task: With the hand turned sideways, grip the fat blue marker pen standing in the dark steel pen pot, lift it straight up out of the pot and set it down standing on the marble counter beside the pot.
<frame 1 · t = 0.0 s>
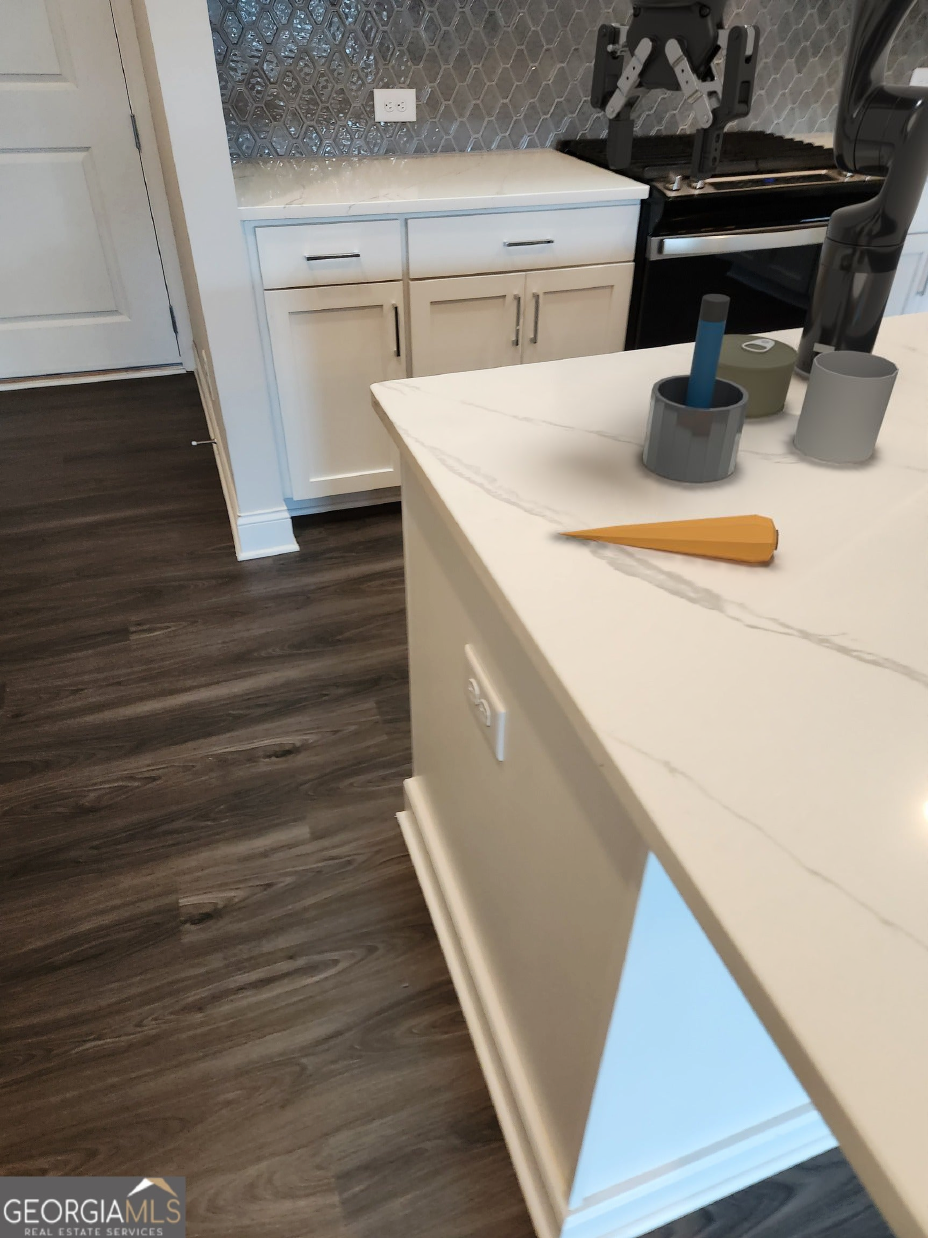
hand: (657, 173, 71), 29 cm above the countertop, tool pointing down, fingers open, 8 cm apart
pen pot: (687, 465, 91), on the countertop
can: (735, 405, 105), on the countertop
marker: (688, 461, 91), resting on pen pot
cup: (830, 452, 94), on the countertop
carrot: (661, 548, 78), on the countertop
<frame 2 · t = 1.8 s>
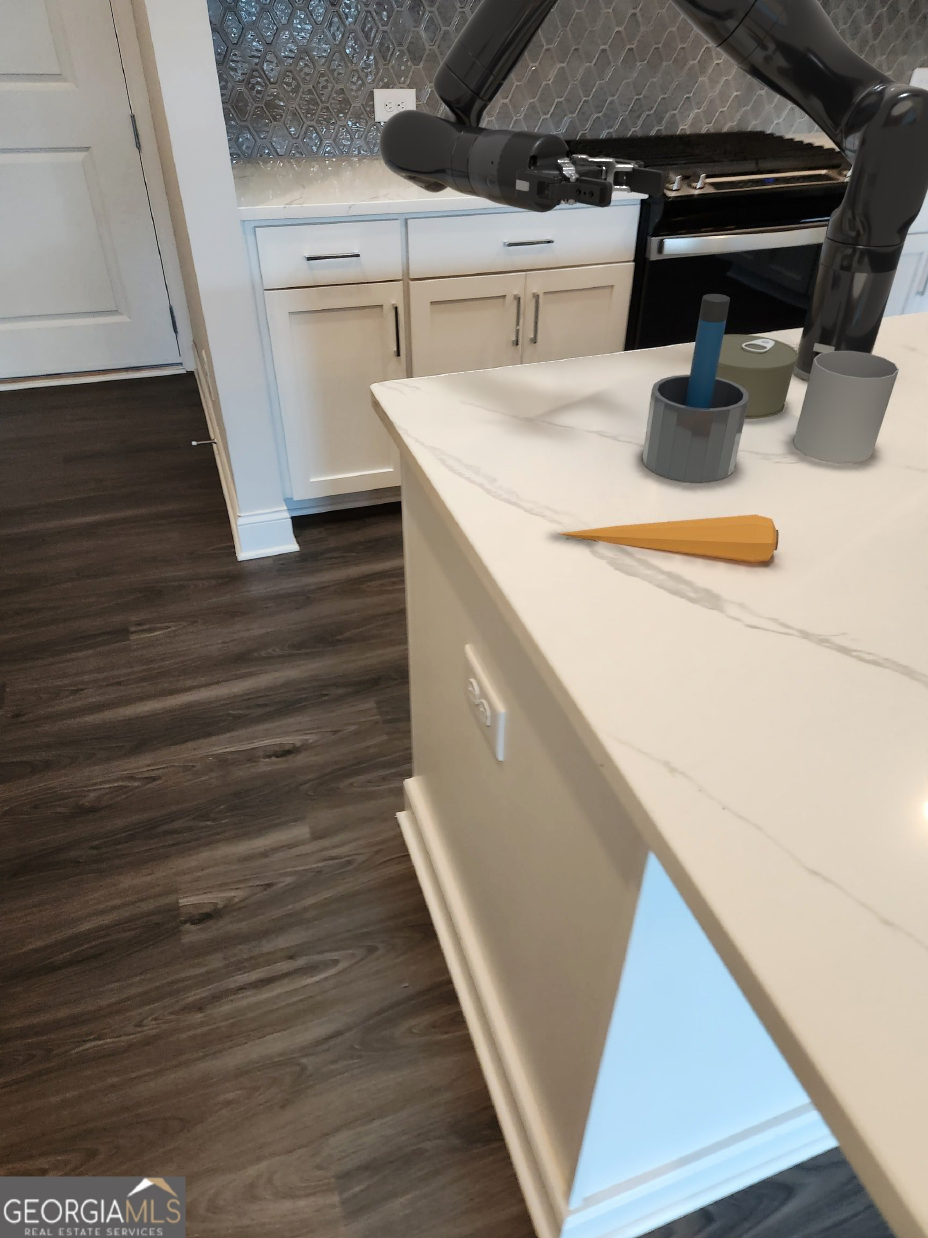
hand: (637, 189, 82), 26 cm above the countertop, tool horizontal, fingers open, 8 cm apart
nothing on the countertop moved.
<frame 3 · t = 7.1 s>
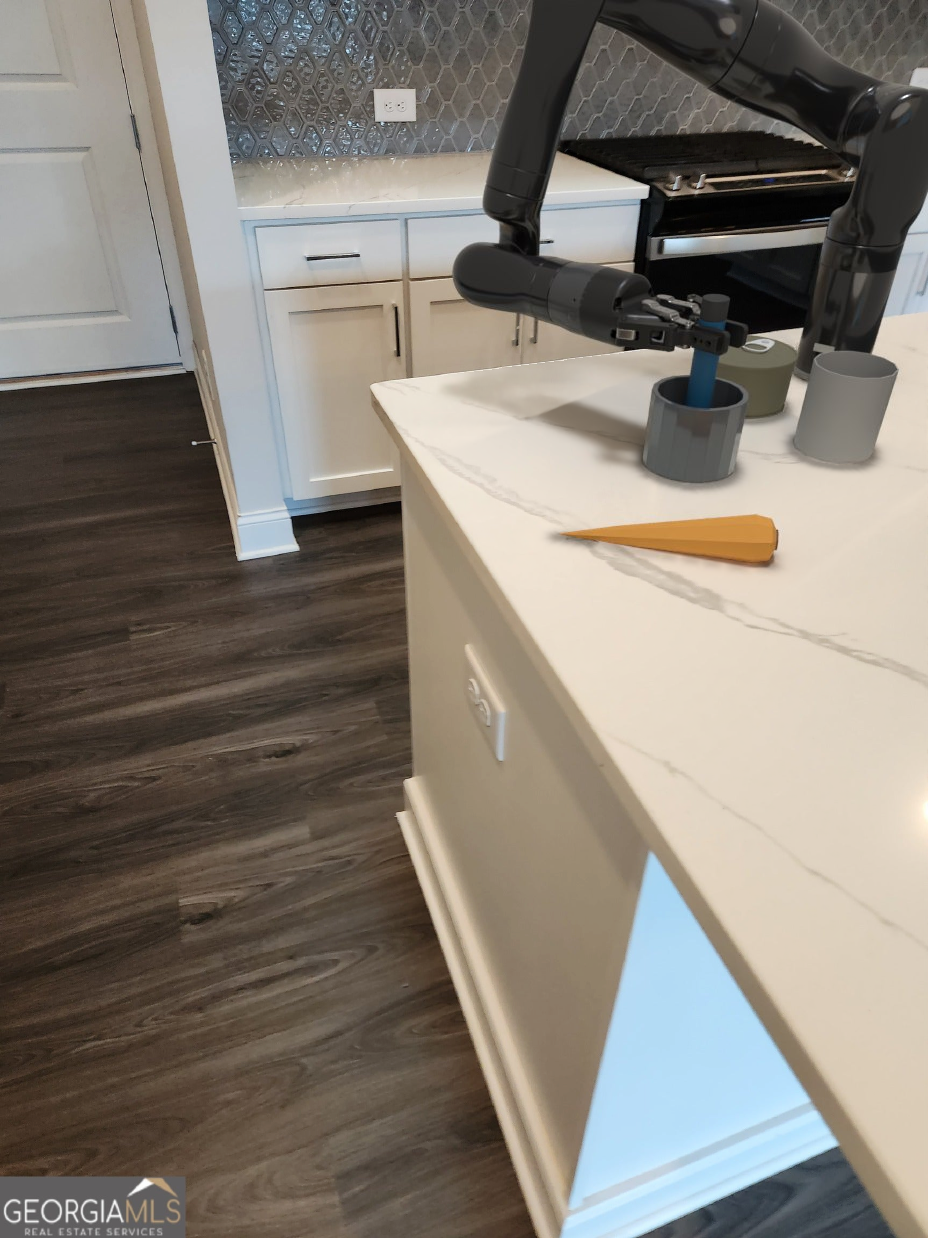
hand: (735, 340, 81), 14 cm above the countertop, tool horizontal, fingers closed on marker, 2 cm apart
marker: (688, 461, 91), point 1 cm above the countertop, touching gripper, pen pot
everything else where it was.
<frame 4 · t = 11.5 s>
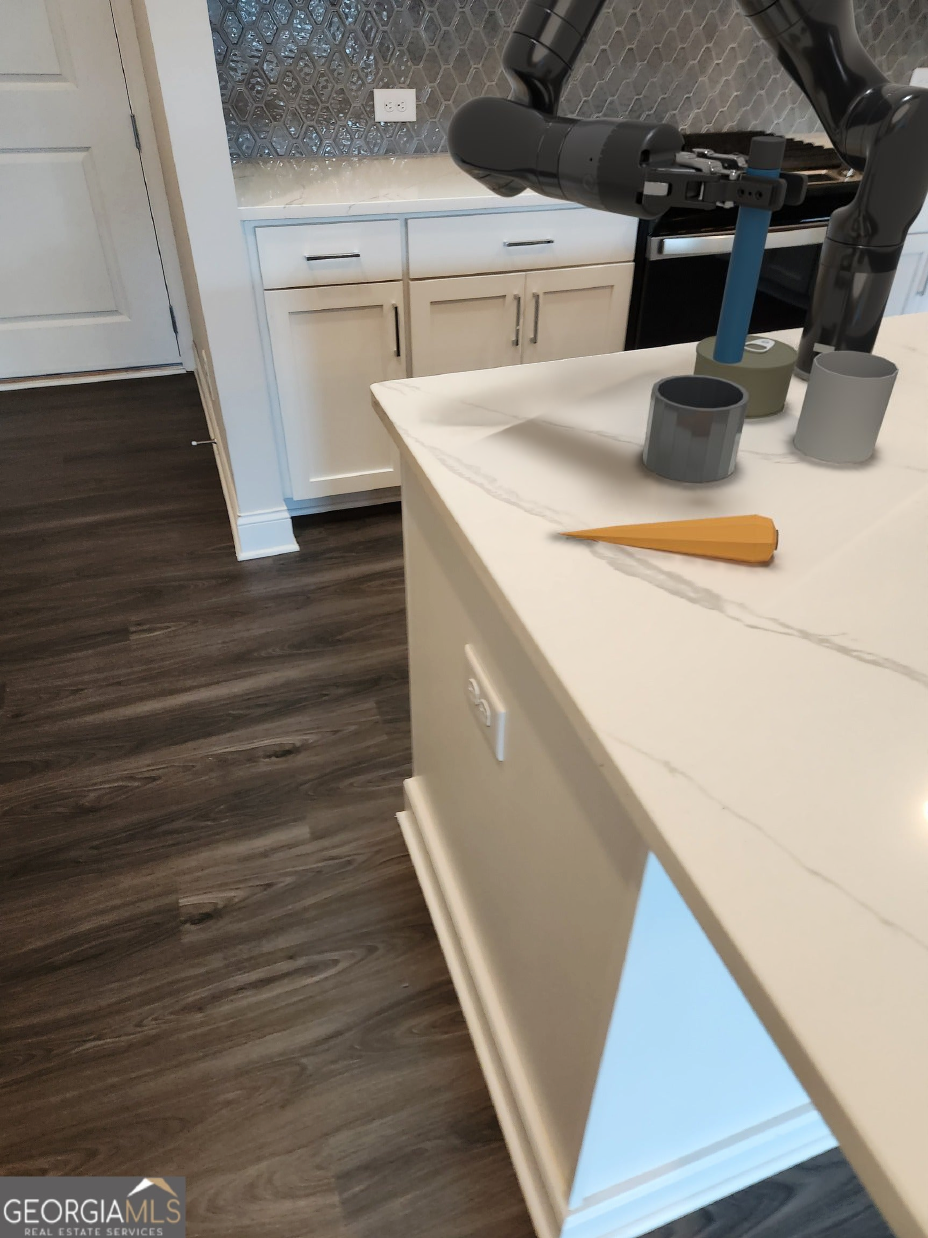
hand: (792, 192, 65), 29 cm above the countertop, tool horizontal, fingers closed on marker, 2 cm apart
marker: (727, 359, 75), point 15 cm above the countertop, touching gripper
everything else where it was.
when the fingers open (14 cm above the countertop, at t = 16.3 s): marker stays where it is, on the countertop.
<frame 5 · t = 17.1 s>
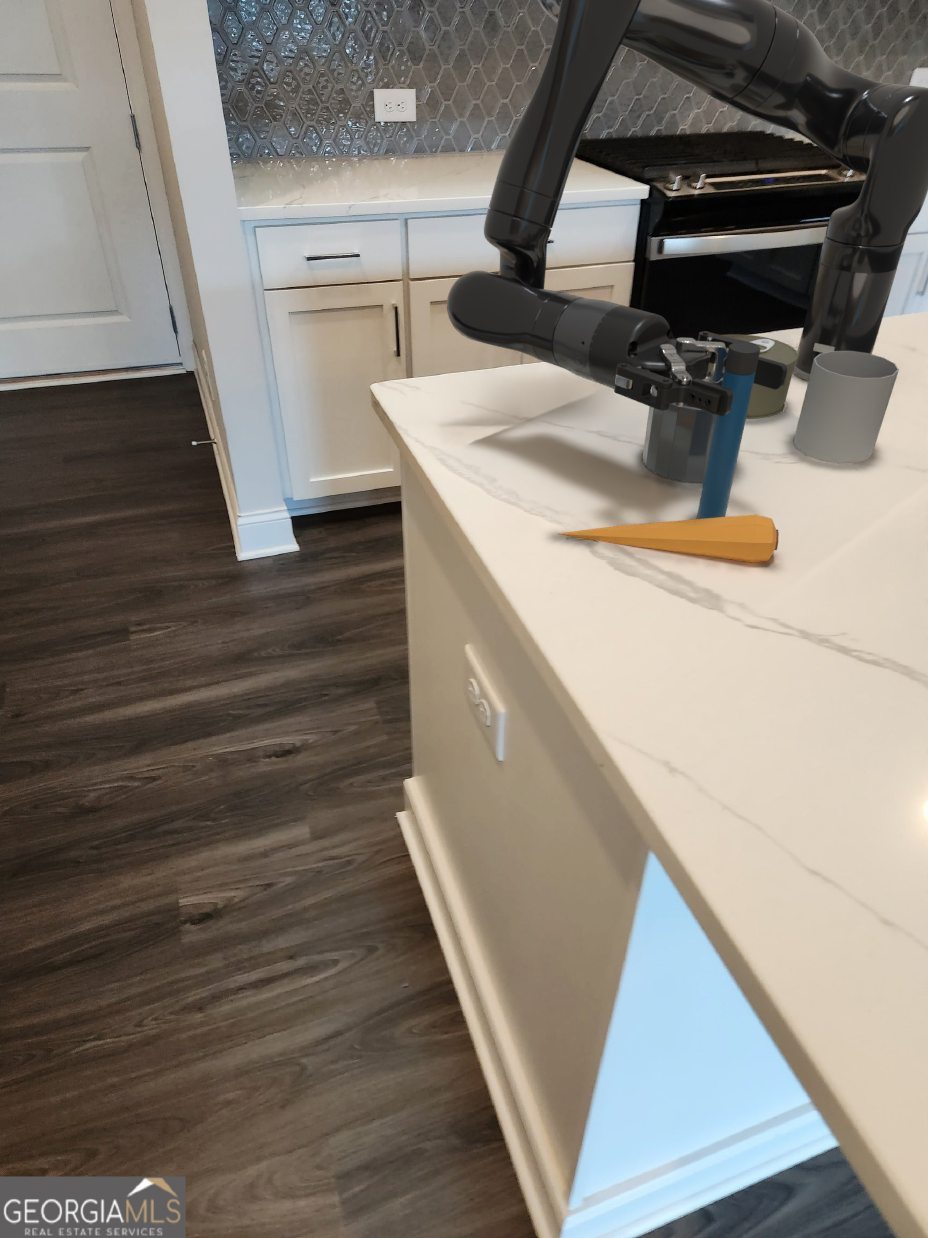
hand: (757, 390, 71), 14 cm above the countertop, tool horizontal, fingers open, 8 cm apart
marker: (709, 525, 81), on the countertop
everything else where it was.
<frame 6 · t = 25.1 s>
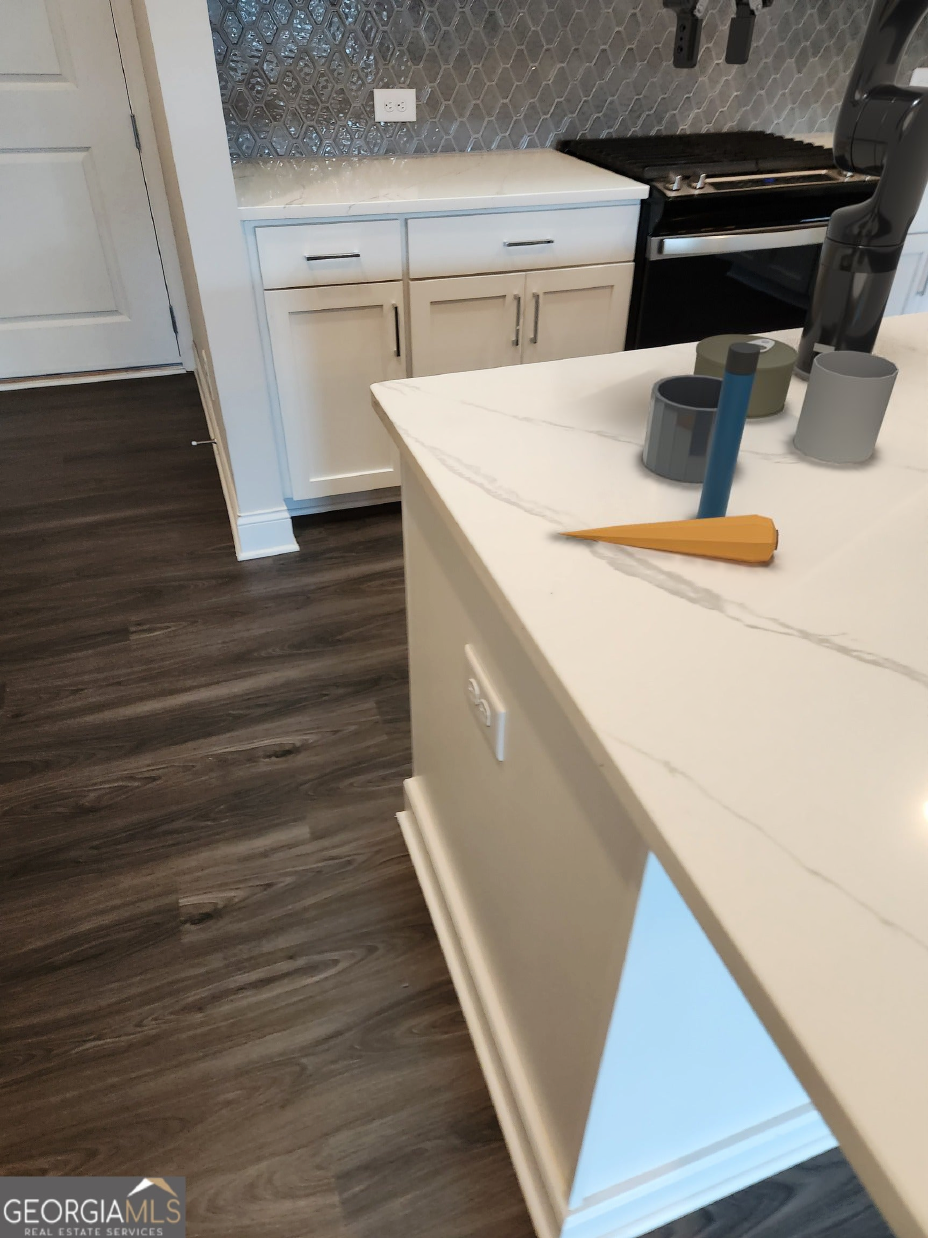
hand: (710, 65, 78), 36 cm above the countertop, tool pointing down, fingers open, 8 cm apart
nothing on the countertop moved.
at the end: marker inside the target area (1.0 cm from its centre), on the countertop; the gripper is holding nothing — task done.
